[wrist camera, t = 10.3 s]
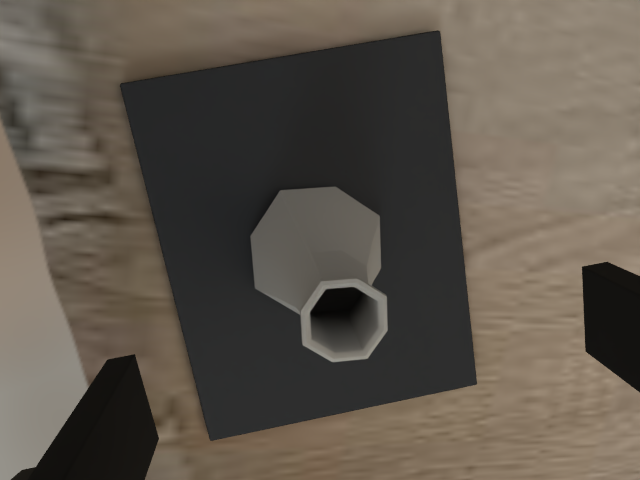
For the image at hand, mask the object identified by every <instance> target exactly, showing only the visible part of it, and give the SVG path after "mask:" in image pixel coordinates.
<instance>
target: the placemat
mask: <svg viewBox="0 0 640 480" xmlns="http://www.w3.org/2000/svg"><path fill="white" fill-rule="evenodd" d="M120 87H121V91H122V95H123V99H124V103H125V107H126V111H127V115H128V119H129V123H130V127H131V131H132V135H133V139H134V143H135V147H136V150H137V154H138V158H139V162H140V166H141V170H142V174H143V178H144V182H145V186H146V190H147V194H148V198H149V202H150V206H151V210H152V214H153V217H154V221H155V225H156V229H157V233H158V237H159V241H160V245H161V249H162V253H163V257H164V261H165V265H166V269H167V273H168V277H169V281H170V285H171V288H172V292H173V296H174V300H175V304H176V308H177V312H178V316H179V320H180V324H181V328H182V332H183V336H184V340H185V344H186V348H187V352H188V356H189V359H190V363H191V367H192V371H193V375H194V379H195V383H196V387H197V391H198V395H199V399H200V403H201V407H202V411H203V415H204V419H205V423H206V426H207V430H208V434H209V438H210V441H213V440H217V439H222V438H227V437H232V436H236V435H241V434H246V433H250V432H255V431H260V430H265V429H269V428H274V427H279V426H283V425H288V424H293V423H298V422H302V421H307V420H312V419H316V418H321V417H326V416H331V415H335V414H340V413H345V412H349V411H354V410H359V409H364V408H368V407H373V406H378V405H382V404H387V403H392V402H396V401H401V400H406V399H411V398H415V397H420V396H425V395H429V394H434V393H439V392H444V391H448V390H453V389H458V388H462V387H467V386H472V385H476V384H477V380H476V370H475V361H474V351H473V342H472V332H471V323H470V313H469V304H468V294H467V284H466V275H465V265H464V256H463V246H462V237H461V227H460V218H459V208H458V199H457V189H456V179H455V170H454V160H453V151H452V141H451V132H450V122H449V113H448V103H447V93H446V84H445V74H444V65H443V55H442V46H441V36H440V31H432V32H426V33H420V34H414V35H408V36H402V37H396V38H390V39H384V40H378V41H372V42H366V43H360V44H354V45H348V46H342V47H336V48H330V49H324V50H318V51H312V52H306V53H301V54H295V55H289V56H283V57H277V58H271V59H265V60H259V61H253V62H247V63H241V64H235V65H229V66H223V67H217V68H211V69H205V70H199V71H193V72H187V73H181V74H175V75H169V76H163V77H157V78H151V79H145V80H139V81H133V82H127V83H121V84H120ZM321 187H337V188H338V189H340V190H341V191H343V192H344V193H346V194H347V195H349V196H350V197H352V198H353V199H355V200H356V201H358V202H359V203H361V204H362V205H364V206H365V207H367V208H368V209H370V210H371V211H373V212H375V213H376V214H378V215H379V216H380V246H381V269H380V271H379V273H378V275H377V276H376V278H375V280H374V281H373V283H372V286H373V287H374V288H376V289H378V290H379V291H381V292H382V293H384V294H386V296H387V327H388V331H387V332H386V334H385V335H384V336H383V338H382V339H381V340H380V342H379V343H378V345H377V346H376V347H375V349H374V350H373V352H372V353H371V354H370V356H369V357H368V359H360V360H350V361H339V362H331V361H330V360H328V359H326V358H324V357H323V356H321V355H319V354H317V353H316V352H314V351H312V350H310V349H309V348H307V347H305V346H303V344H302V334H301V318H300V315H299V314H298V313H296V312H294V311H293V310H291V309H289V308H288V307H286V306H284V305H282V304H281V303H279V302H277V301H276V300H274V299H272V298H271V297H269V296H267V295H266V294H264V293H262V292H260V291H259V290H257V289H255V283H254V272H253V260H252V248H251V237H250V236H251V234H252V233H253V231H254V230H255V228H256V227H257V225H258V224H259V222H260V221H261V219H262V218H263V216H264V215H265V213H266V211H267V210H268V208H269V207H270V205H271V204H272V202H273V201H274V199H275V198H276V196H277V195H278V193H279V191H280V190H291V189H306V188H321Z"/></svg>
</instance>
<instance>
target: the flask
mask: <svg viewBox="0 0 640 480" xmlns="http://www.w3.org/2000/svg"><path fill="white" fill-rule="evenodd" d="M250 237H251V248H252V260H253V272H254V283H255V289H257V290H259V291H260V292H262V293H264V294H266V295H267V296H269V297H271V298H272V299H274V300H276V301H277V302H279V303H281V304H282V305H284V306H286V307H288V308H289V309H291V310H293V311H294V312H296V313H298V314H299V315H300V318H301V334H302V344H303V346H305V347H307V348H309V349H310V350H312V351H314V352H316V353H317V354H319V355H321V356H323V357H324V358H326V359H328V360H330V361H331V362H339V361H350V360H360V359H368V357H369V356H370V354H371V353H372V352H373V350H374V349H375V347H376V346H377V345H378V343H379V342H380V340H381V339H382V338H383V336H384V335H385V334H386V332H387V331H388V327H387V296H386V294H384V293H382V292H381V291H379V290H378V289H376V288H374V287H373V286H372V283H373V281H374V280H375V278H376V276H377V275H378V273H379V271H380V269H381V246H380V216H379V215H378V214H376V213H375V212H373V211H371V210H370V209H368V208H367V207H365V206H364V205H362V204H361V203H359V202H358V201H356V200H355V199H353V198H352V197H350V196H349V195H347V194H346V193H344V192H343V191H341V190H340V189H338V188H337V187H321V188H306V189H291V190H280V191H279V193H278V195H277V196H276V198H275V199H274V201H273V202H272V204H271V205H270V207H269V208H268V210H267V211H266V213H265V215H264V216H263V218H262V219H261V221H260V222H259V224H258V225H257V227H256V228H255V230H254V231H253V233H252V234H251V236H250Z"/></svg>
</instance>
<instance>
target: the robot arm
mask: <svg viewBox="0 0 640 480" xmlns="http://www.w3.org/2000/svg"><path fill="white" fill-rule="evenodd" d="M582 277H583V301H584V324H585V348H586V352H587V353H588V354H590V355H591V356H592V357H594V358H595V359H596V360H598V361H599V362H600V363H602V364H603V365H604V366H606V367H607V368H608V369H610V370H611V371H612V372H614V373H615V374H616V375H618V376H619V377H620V378H621V379H623V380H624V381H625V382H627V383H628V384H629V385H631V386H632V387H633V388H635V389H636V390H637V391H639V392H640V276H638V275H636V274H633V273H631V272H629V271H627V270H624V269H622V268H620V267H617V266H615V265H613V264H611V263H608V262H604V263H599V264H594V265H589V266H584V267H582ZM158 440H159V437H158V434H157V430H156V427H155V423H154V420H153V416H152V413H151V409H150V406H149V402H148V399H147V395H146V392H145V388H144V385H143V382H142V378H141V375H140V371H139V368H138V364H137V361H136V357H135V354H134V355H129V356H124V357H119V358H114V359H109V360H107V361H106V363H105V364H104V366H103V367H102V369H101V370H100V372H99V373H98V375H97V376H96V378H95V379H94V381H93V382H92V384H91V385H90V387H89V388H88V390H87V391H86V393H85V394H84V396H83V397H82V399H81V400H80V402H79V403H78V405H77V406H76V408H75V409H74V411H73V412H72V414H71V415H70V417H69V418H68V420H67V421H66V423H65V424H64V426H63V427H62V429H61V430H60V432H59V433H58V435H57V436H56V438H55V439H54V441H53V442H52V444H51V445H50V447H49V448H48V450H47V451H46V453H45V454H44V456H43V457H42V459H41V460H40V462H39V463H38V465H37V466H36V467H35V468H29V469H25V470H22V471H20V472H19V473H18V474H17V475H16V476H15V477H13V478H12V479H11V480H145V477H146V474H147V471H148V468H149V466H150V463H151V460H152V457H153V454H154V451H155V448H156V445H157V442H158Z"/></svg>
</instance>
